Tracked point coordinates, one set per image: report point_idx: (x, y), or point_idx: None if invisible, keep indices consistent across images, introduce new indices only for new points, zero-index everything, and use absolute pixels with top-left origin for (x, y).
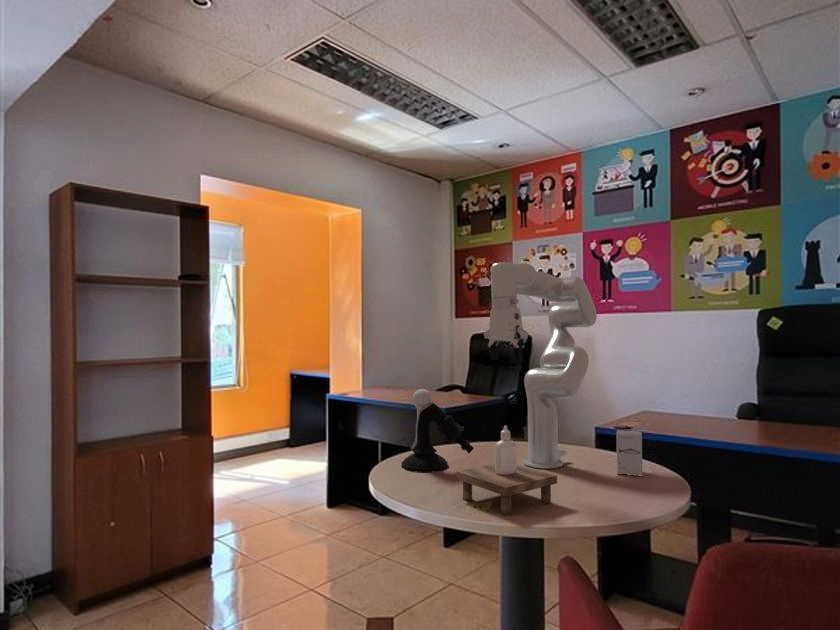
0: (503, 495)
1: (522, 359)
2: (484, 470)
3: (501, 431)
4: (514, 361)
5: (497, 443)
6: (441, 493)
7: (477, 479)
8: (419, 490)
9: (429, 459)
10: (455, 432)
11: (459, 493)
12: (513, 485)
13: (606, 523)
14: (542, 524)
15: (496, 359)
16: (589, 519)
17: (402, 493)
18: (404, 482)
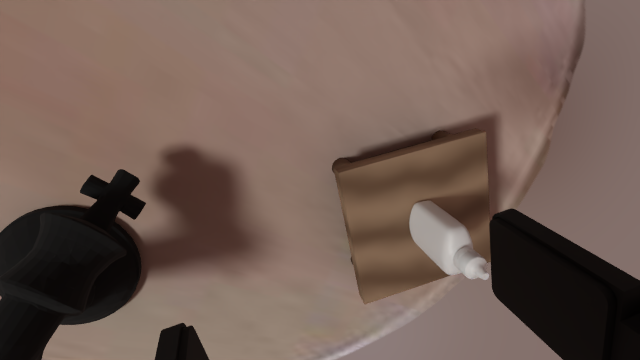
0: None
1: (518, 211)
2: (384, 252)
3: (472, 278)
4: (497, 287)
5: (455, 274)
6: (309, 288)
7: (422, 283)
8: (275, 319)
9: (109, 279)
10: (114, 257)
11: (322, 259)
12: (489, 245)
13: (552, 108)
14: (504, 200)
15: (203, 348)
16: (528, 121)
17: (281, 348)
18: (211, 334)
